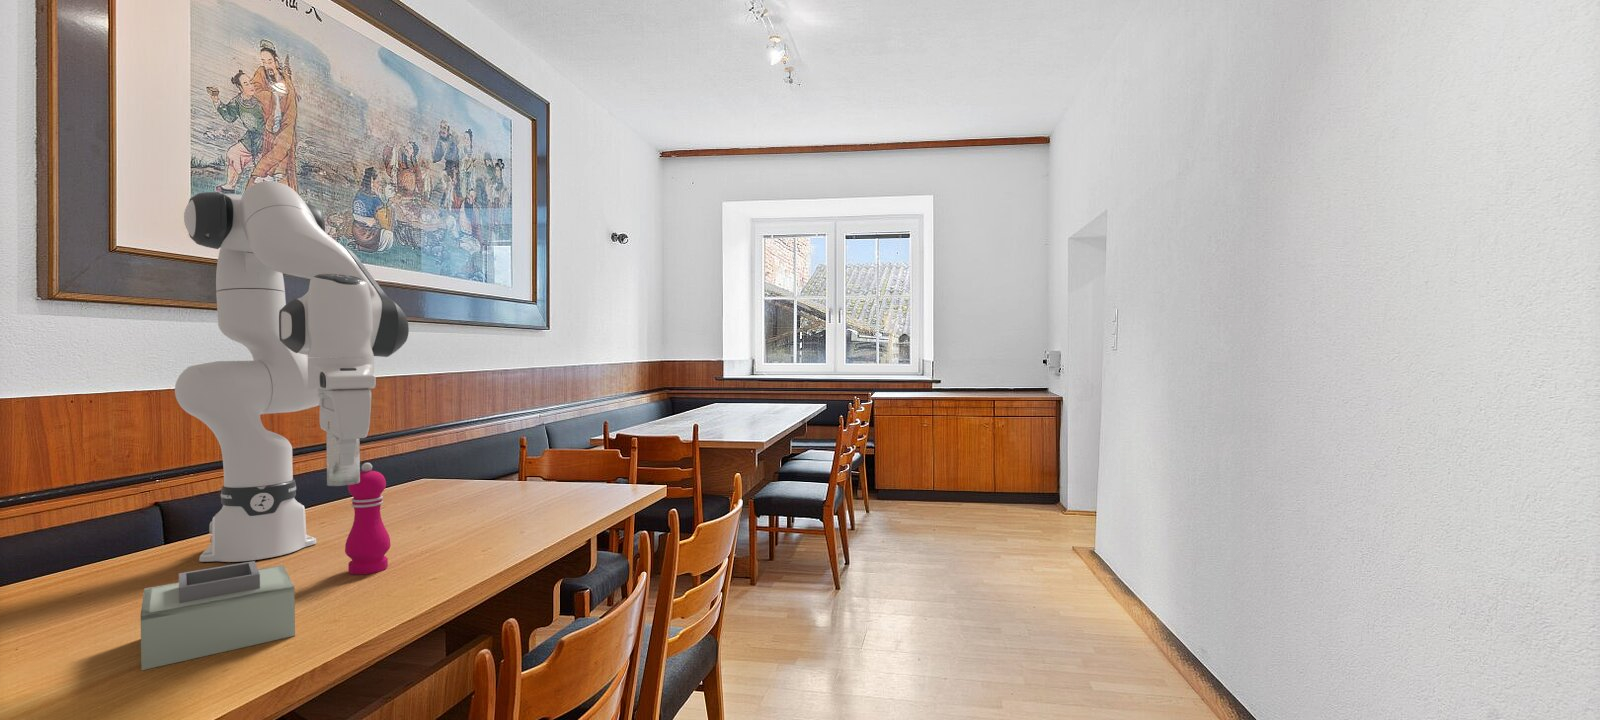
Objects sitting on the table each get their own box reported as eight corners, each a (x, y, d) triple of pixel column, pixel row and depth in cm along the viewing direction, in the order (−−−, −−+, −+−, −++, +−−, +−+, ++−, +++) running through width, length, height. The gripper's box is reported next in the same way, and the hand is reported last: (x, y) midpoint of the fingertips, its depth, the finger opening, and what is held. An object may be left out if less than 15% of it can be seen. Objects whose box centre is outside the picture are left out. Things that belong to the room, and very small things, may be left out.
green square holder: (145, 637, 100) (144, 574, 100) (284, 608, 110) (283, 552, 110) (141, 670, 89) (140, 600, 89) (295, 635, 100) (294, 573, 100)
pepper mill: (369, 576, 126) (367, 466, 126) (335, 574, 127) (333, 465, 127) (399, 564, 133) (398, 460, 133) (367, 562, 134) (365, 459, 134)
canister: (324, 483, 111) (323, 410, 111) (357, 479, 114) (356, 409, 114) (329, 487, 108) (328, 412, 108) (362, 483, 111) (361, 410, 111)
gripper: (308, 374, 117) (309, 457, 117) (328, 378, 101) (330, 473, 102) (352, 373, 121) (353, 453, 121) (378, 377, 106) (379, 468, 106)
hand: (343, 462), depth 111 cm, fingers closed on canister, 4 cm apart
